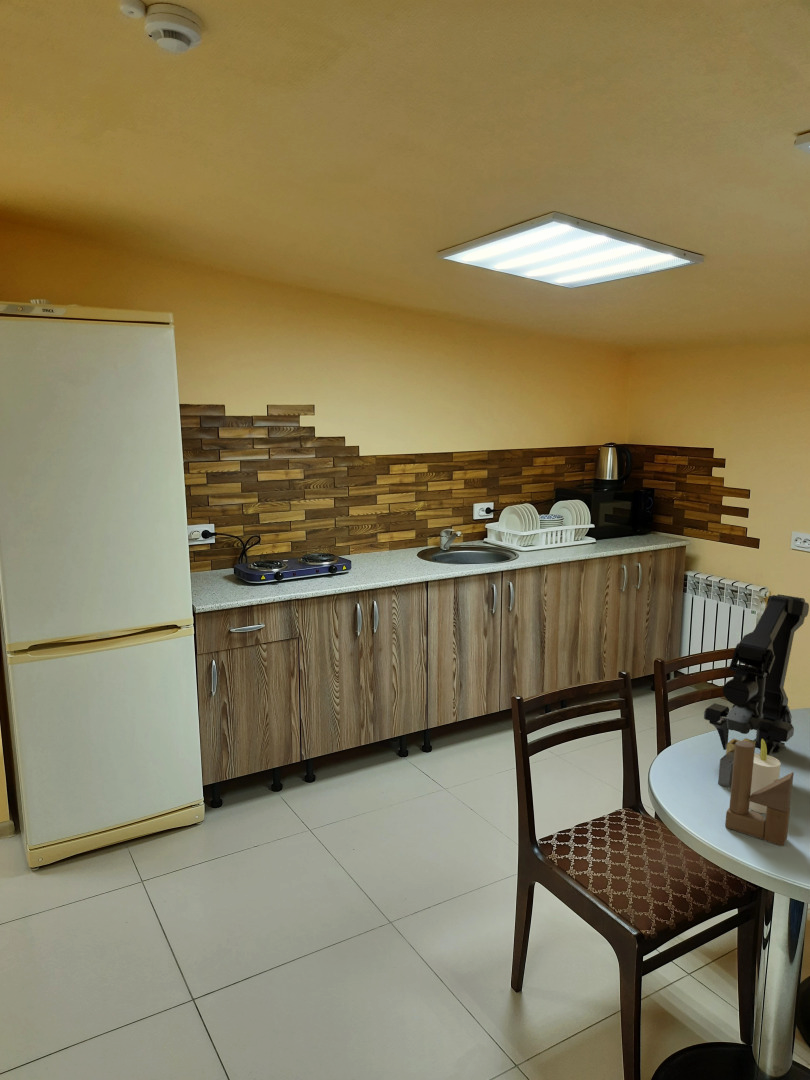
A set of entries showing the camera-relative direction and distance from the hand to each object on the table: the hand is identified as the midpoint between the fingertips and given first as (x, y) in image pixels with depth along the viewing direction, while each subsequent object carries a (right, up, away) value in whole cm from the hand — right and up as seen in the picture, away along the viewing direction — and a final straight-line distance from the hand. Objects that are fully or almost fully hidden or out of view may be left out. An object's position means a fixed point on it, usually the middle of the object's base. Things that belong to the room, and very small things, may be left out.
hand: (744, 755), depth 172 cm
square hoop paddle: (-1, -3, -1) cm, 3 cm away
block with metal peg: (-5, -4, -5) cm, 8 cm away
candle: (-5, -6, -18) cm, 19 cm away
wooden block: (-11, -7, -28) cm, 31 cm away
